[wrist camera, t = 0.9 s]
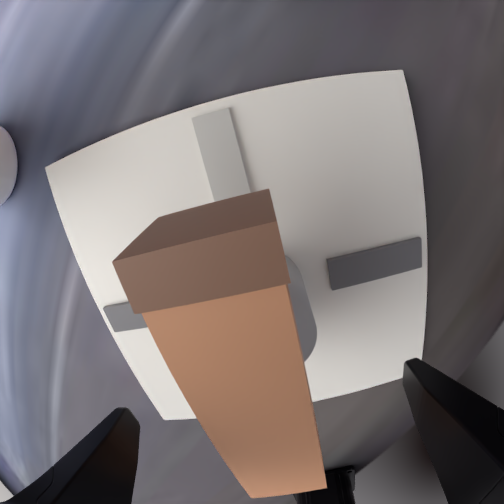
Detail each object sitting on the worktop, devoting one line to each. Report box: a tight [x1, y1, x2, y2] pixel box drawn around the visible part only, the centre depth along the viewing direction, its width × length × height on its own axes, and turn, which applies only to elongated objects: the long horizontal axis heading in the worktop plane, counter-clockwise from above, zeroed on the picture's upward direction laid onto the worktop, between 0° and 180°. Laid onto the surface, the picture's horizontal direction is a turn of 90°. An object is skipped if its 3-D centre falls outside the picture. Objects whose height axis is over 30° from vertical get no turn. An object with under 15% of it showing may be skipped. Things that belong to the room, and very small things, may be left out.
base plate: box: [45, 70, 427, 420], centre depth 14 cm, size 18×18×5 cm
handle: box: [112, 189, 327, 498], centre depth 9 cm, size 11×3×4 cm, turn 14°
